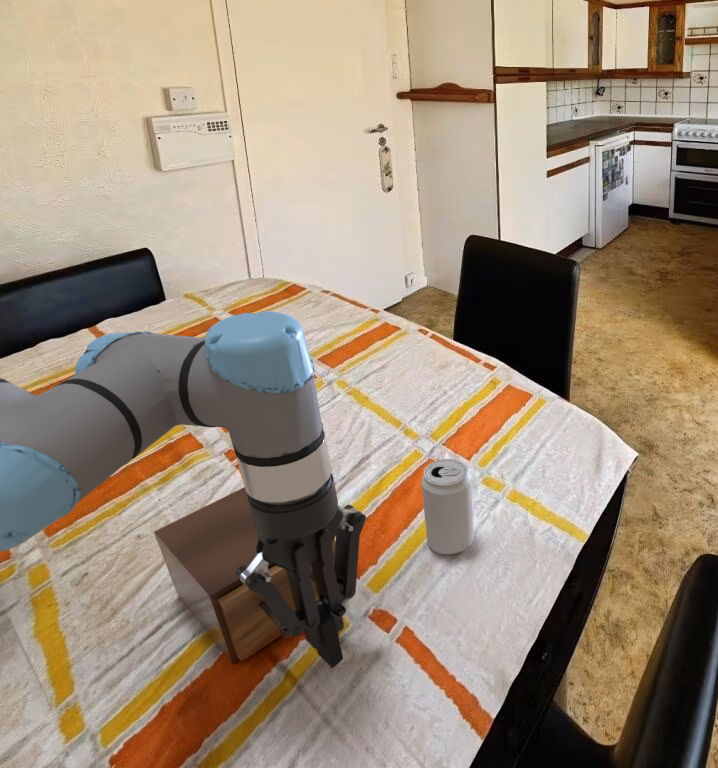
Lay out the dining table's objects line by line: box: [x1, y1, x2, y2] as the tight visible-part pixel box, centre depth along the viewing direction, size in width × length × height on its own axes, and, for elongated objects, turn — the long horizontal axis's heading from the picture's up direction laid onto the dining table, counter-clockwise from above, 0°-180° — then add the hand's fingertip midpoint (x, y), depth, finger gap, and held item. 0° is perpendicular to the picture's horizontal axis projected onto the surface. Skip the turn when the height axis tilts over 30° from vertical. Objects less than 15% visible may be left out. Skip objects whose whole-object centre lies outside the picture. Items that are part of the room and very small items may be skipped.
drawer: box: [218, 538, 336, 662], centre depth 73 cm, size 19×13×9 cm
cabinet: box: [153, 486, 273, 665], centre depth 75 cm, size 15×15×11 cm
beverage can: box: [420, 458, 475, 555], centre depth 83 cm, size 6×6×12 cm
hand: (330, 656), depth 68 cm, fingers closed
